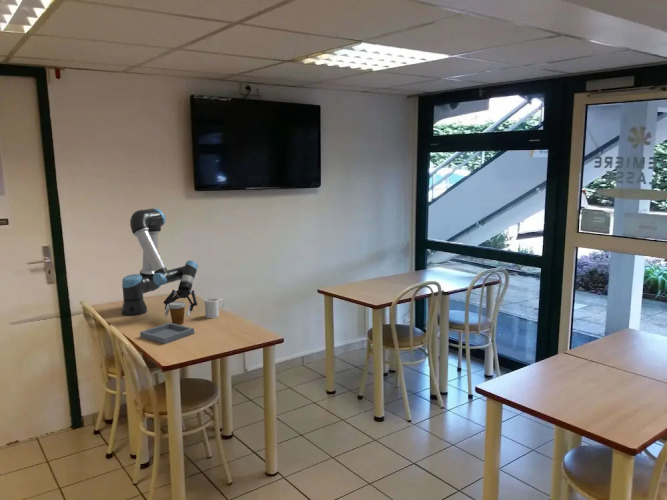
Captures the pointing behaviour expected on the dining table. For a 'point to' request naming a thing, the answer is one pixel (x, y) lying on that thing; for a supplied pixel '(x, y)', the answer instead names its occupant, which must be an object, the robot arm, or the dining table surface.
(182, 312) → the disposable coffee cup
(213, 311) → the mug
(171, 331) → the slate tray
